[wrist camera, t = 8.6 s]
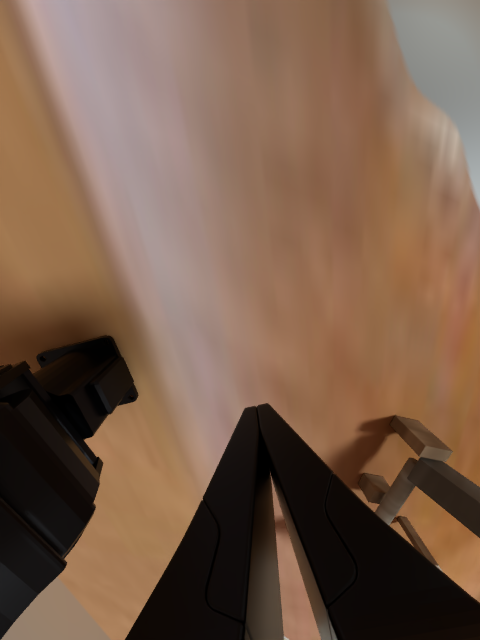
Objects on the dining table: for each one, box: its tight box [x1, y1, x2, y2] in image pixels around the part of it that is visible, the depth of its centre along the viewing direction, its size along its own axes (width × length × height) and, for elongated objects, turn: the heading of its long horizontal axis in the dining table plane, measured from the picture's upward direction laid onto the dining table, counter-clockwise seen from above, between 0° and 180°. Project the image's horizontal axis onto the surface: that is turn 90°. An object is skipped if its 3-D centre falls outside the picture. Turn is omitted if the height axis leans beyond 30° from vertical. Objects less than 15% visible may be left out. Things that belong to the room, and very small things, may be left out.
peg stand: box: [358, 416, 453, 566], centre depth 24 cm, size 10×14×4 cm
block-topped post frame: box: [375, 457, 480, 538], centre depth 18 cm, size 3×14×14 cm
